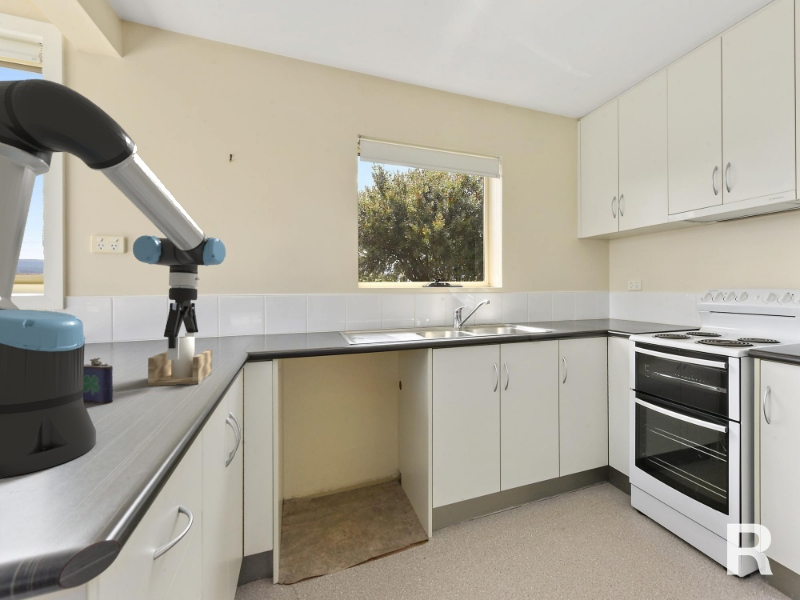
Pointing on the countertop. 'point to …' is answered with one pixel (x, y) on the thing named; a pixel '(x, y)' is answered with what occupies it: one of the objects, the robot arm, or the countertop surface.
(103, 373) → the flask
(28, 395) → the robot arm
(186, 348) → the roll
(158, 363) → the holder
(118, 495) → the countertop surface
